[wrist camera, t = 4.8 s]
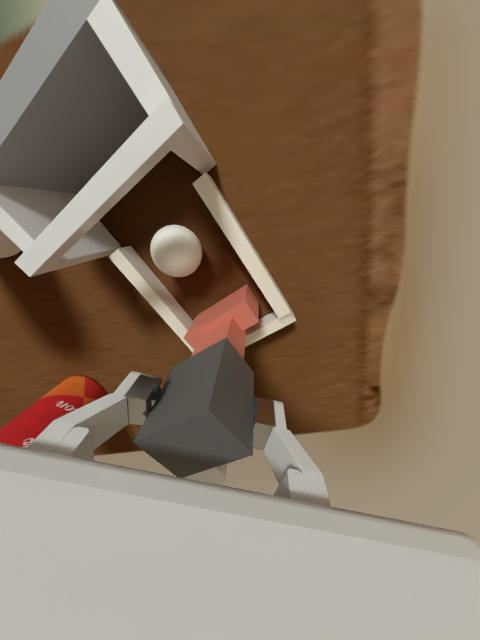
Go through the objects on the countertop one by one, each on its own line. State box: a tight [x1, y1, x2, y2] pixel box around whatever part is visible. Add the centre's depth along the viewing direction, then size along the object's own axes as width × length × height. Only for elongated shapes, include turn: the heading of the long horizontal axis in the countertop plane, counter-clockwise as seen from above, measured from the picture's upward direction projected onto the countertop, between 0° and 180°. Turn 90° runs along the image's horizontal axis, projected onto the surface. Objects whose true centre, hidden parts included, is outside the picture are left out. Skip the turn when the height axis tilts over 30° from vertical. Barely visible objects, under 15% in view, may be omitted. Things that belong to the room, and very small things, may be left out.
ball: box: [150, 225, 202, 277], centre depth 17 cm, size 4×4×4 cm
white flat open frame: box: [109, 172, 296, 352], centre depth 19 cm, size 10×13×2 cm
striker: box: [133, 284, 259, 478], centre depth 15 cm, size 6×3×14 cm, turn 124°
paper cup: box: [0, 375, 106, 448], centre depth 22 cm, size 8×8×14 cm
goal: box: [0, 0, 216, 277], centre depth 13 cm, size 12×6×8 cm, turn 124°
